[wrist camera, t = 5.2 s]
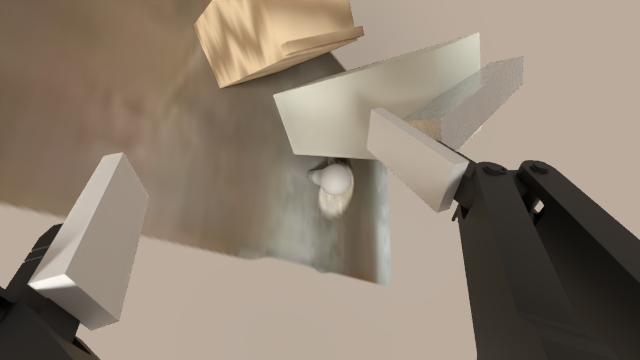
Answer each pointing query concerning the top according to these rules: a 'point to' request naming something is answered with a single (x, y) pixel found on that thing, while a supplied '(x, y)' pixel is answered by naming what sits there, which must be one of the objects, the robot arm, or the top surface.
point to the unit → (372, 97)
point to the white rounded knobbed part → (331, 179)
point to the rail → (468, 103)
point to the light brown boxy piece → (270, 35)
